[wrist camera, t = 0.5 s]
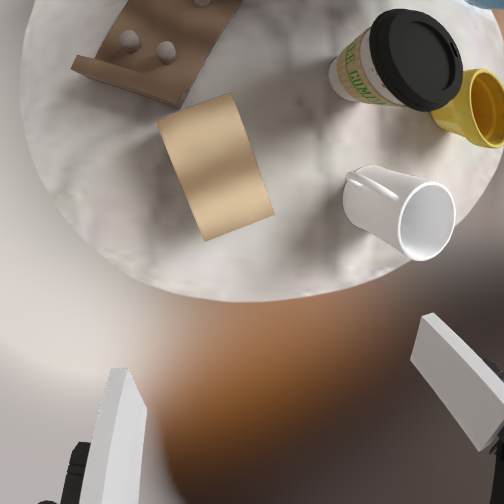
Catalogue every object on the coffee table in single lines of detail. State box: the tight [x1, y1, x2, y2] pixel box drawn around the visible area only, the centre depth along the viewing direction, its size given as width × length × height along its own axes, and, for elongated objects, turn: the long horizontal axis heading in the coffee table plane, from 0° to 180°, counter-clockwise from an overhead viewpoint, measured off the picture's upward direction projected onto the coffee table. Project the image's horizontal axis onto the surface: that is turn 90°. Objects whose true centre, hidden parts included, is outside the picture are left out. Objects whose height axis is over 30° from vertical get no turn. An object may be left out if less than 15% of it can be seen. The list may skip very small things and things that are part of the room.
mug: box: [343, 165, 455, 261], centre depth 31 cm, size 12×8×12 cm
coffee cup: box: [328, 9, 463, 112], centre depth 24 cm, size 10×10×15 cm
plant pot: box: [431, 69, 504, 148], centre depth 29 cm, size 10×10×10 cm
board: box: [156, 93, 275, 242], centre depth 28 cm, size 12×7×3 cm, turn 20°
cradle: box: [71, 0, 242, 109], centre depth 23 cm, size 18×12×6 cm, turn 155°
